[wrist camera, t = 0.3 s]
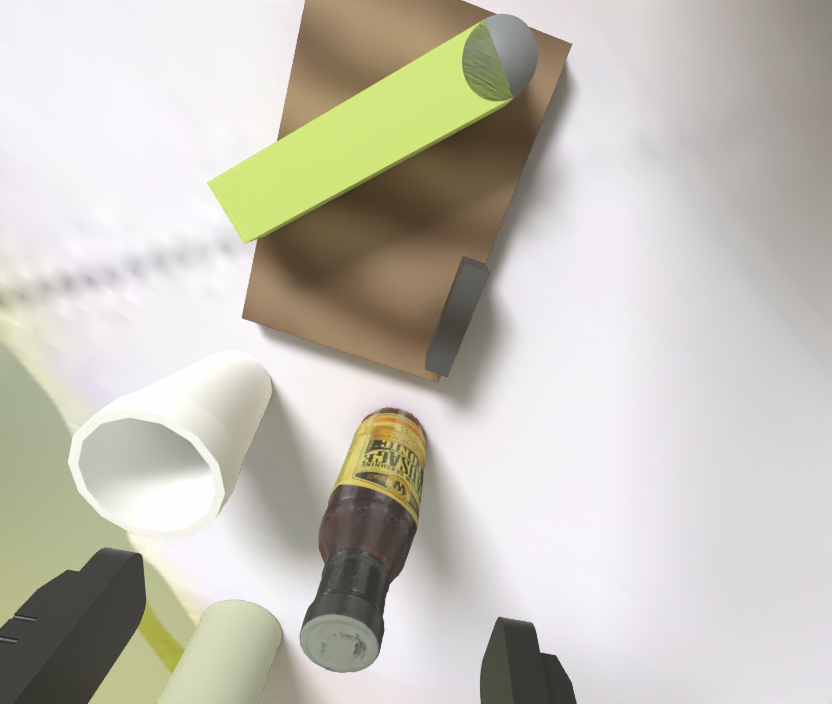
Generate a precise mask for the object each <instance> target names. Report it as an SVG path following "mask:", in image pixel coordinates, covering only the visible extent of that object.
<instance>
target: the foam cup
mask: <svg viewBox="0 0 832 704" xmlns="http://www.w3.org/2000/svg"><path fill="white" fill-rule="evenodd" d="M272 392H273V390H272V383H271V377H270V375H269V374H268V372H267V371H266V369H265V368H264V366H263V365H262V363H261V362H259V361H258V360H256V359H255V358H253V357H252V356H250V355H249V354H247V353H243V352H238V351H233V350H228V351H223V352H219V353H215V354H214V355H210V356H208V357H206V358H204V359H202V360H200V361H198V362H196V363H194V364H192V365H190V366H188V367H186V368H184V369H182V370H180V371H178V372H176V373H174V374H172V375H170V376H168V377H166V378H164V379H162V380H160V381H158V382H156V383H154V384H152V385H150V386H148V387H146V388H144V389H142V390H140V391H138V392H136V393H134V394H129V395H125V396H121V397H119V398H118V399H116V400H115V401H113V402H112V403H111V404H109V405H108V406H106V407H105V408H104V409H102V410H101V411H99V412H98V413H96V414H95V415H94V416H93V417H92V418H91V419H89V420H88V421H87V422H86V423H85V424H84V425H83V426H82V427H81V428H80V429H79V430H78V431H77V432H76V433H75V434H74V435H73V438H72V444H71V449H70V454H69V460H68V464H69V467H70V469H71V472H72V475H73V478H74V480H75V483H76V486H77V489H78V491H79V492H80V493H81V495H82V496H83V497H84V498H85V499H86V500H87V501H88V502H89V503H90V504H91V505H92V507H93V508H94V509H95V510H96V511H97V512H98V513H99V514H100V515H101V516H102V517H104V518H106V519H108V520H109V521H111V522H113V523H115V524H116V525H118V526H120V527H122V528H124V529H125V530H127V531H129V532H131V533H134V534H139V535H145V536H150V537H155V538H160V539H170V538H176V537H181V536H187V535H193V534H196V533H197V532H198V531H200V530H201V529H202V528H204V527H205V526H206V525H208V524H209V523H210V522H212V521H213V520H214V519H216V518H217V516H218V514H219V513H220V511H221V510H222V508H223V507H224V505H225V504H226V502H227V501H228V499H229V497H230V496H231V494H232V492H233V490H234V487H235V484H236V481H237V479H238V476H239V473H240V471H241V468H240V467H241V465H242V462H243V460H244V458H245V456H246V453H247V451H248V449H249V447H250V444H251V442H252V440H253V438H254V435H255V433H256V431H257V429H258V426H259V424H260V422H261V419H262V417H263V415H264V413H265V410H266V408H267V405H268V403H269V400H270V398H271V395H272Z"/></svg>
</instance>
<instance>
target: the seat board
mask: <svg viewBox="0 0 832 704" xmlns="http://www.w3.org/2000/svg"><path fill="white" fill-rule="evenodd" d="M493 15H498V14H495V13H493V12H490V11H488V10H485V9H482V8H480V7H477V6H475V5H472V4H470V3H467V2H465V1H462V0H305V4H304V9H303V14H302V19H301V24H300V29H299V34H298V39H297V44H296V49H295V54H294V59H293V64H292V69H291V74H290V79H289V84H288V89H287V94H286V99H285V104H284V109H283V114H282V119H281V124H280V129H279V134H278V139H277V141H279V140H280V139H282V138H284V137H286V136H287V135H289V134H291V133H292V132H294V131H296V130H297V129H299V128H301V127H303V126H304V125H306V124H308V123H309V122H311V121H313V120H314V119H316V118H318V117H319V116H321V115H323V114H325V113H326V112H328V111H330V110H331V109H333V108H335V107H336V106H338V105H340V104H342V103H343V102H345V101H347V100H348V99H350V98H352V97H353V96H355V95H357V94H359V93H360V92H362V91H364V90H365V89H367V88H369V87H370V86H372V85H374V84H375V83H377V82H379V81H381V80H382V79H384V78H386V77H387V76H389V75H391V74H392V73H394V72H396V71H398V70H399V69H401V68H403V67H404V66H406V65H408V64H409V63H411V62H413V61H415V60H416V59H418V58H420V57H421V56H423V55H425V54H426V53H428V52H430V51H431V50H433V49H435V48H437V47H438V46H440V45H442V44H443V43H445V42H447V41H448V40H450V39H452V38H454V37H455V36H457V35H459V34H460V33H462V32H464V31H465V30H467V29H469V28H471V27H472V26H474V25H476V24H477V23H479V22H481V21H482V20H484V19H486V18H488V17H490V16H493ZM529 28H530V27H529ZM530 29H531V31H532V33H533V35H534V37H535V40H536V43H537V49H538V60H537V66H536V69H535V73H534V75H533V77H532V79H531V81H530V82H529V84H528V85H527V87H526V88H525V89H524V90H523V91H522V92H521V93H520V94H519V95H518V96H517V97H516V98H515V99H514V100H513V101H512V102H510V103H509V104H508V105H506V106H505V107H503V108H501V109H499V110H497V111H495V112H494V113H492V114H490V115H488V116H486V117H484V118H483V119H481V120H479V121H477V122H475V123H473V124H471V125H470V126H468V127H466V128H464V129H462V130H460V131H459V132H457V133H455V134H453V135H451V136H449V137H447V138H446V139H444V140H442V141H440V142H438V143H436V144H435V145H433V146H431V147H429V148H427V149H425V150H423V151H422V152H420V153H418V154H416V155H414V156H412V157H410V158H409V159H407V160H405V161H403V162H401V163H399V164H398V165H396V166H394V167H392V168H390V169H388V170H386V171H385V172H383V173H381V174H379V175H377V176H375V177H374V178H372V179H370V180H368V181H366V182H364V183H362V184H361V185H359V186H357V187H355V188H353V189H351V190H350V191H348V192H346V193H344V194H342V195H340V196H338V197H337V198H335V199H333V200H331V201H329V202H327V203H326V204H324V205H322V206H320V207H318V208H316V209H314V210H313V211H311V212H309V213H307V214H305V215H303V216H302V217H300V218H298V219H296V220H294V221H292V222H290V223H289V224H287V225H285V226H283V227H281V228H279V229H278V230H276V231H274V232H272V233H270V234H268V235H266V236H264V237H261V238H258V239H257V244H256V249H255V254H254V259H253V264H252V269H251V274H250V279H249V284H248V289H247V294H246V299H245V304H244V309H243V314H242V318H243V319H246V320H249V321H252V322H255V323H258V324H261V325H264V326H267V327H270V328H273V329H276V330H279V331H282V332H285V333H288V334H291V335H294V336H297V337H301V338H304V339H307V340H310V341H313V342H316V343H319V344H322V345H325V346H328V347H331V348H334V349H337V350H340V351H343V352H346V353H349V354H352V355H355V356H358V357H361V358H364V359H367V360H370V361H374V362H377V363H380V364H383V365H386V366H389V367H392V368H395V369H398V370H401V371H404V372H407V373H410V374H413V375H416V376H419V377H422V378H425V379H428V380H431V381H434V382H437V383H438V382H439V379H440V377H441V375H442V376H445V377H447V376H448V374H449V371H450V369H451V366H452V364H453V361H454V359H455V357H456V354H457V352H458V349H459V347H460V344H461V342H462V339H463V337H464V334H465V332H466V329H467V327H468V324H469V322H470V319H471V317H472V314H473V312H474V309H475V307H476V304H477V302H478V299H479V297H480V294H481V292H482V290H483V287H484V285H485V282H486V280H487V277H488V275H489V271H488V268H487V266H486V264H485V263H486V261H487V258H488V256H489V253H490V251H491V248H492V245H493V243H494V240H495V238H496V235H497V233H498V230H499V228H500V225H501V223H502V220H503V218H504V215H505V213H506V210H507V208H508V205H509V203H510V200H511V198H512V195H513V193H514V190H515V187H516V185H517V182H518V180H519V177H520V175H521V172H522V170H523V167H524V165H525V162H526V160H527V157H528V155H529V152H530V150H531V147H532V145H533V142H534V140H535V137H536V135H537V132H538V129H539V127H540V124H541V122H542V119H543V117H544V114H545V112H546V109H547V107H548V104H549V102H550V99H551V97H552V94H553V92H554V89H555V87H556V84H557V82H558V79H559V77H560V74H561V71H562V69H563V66H564V64H565V61H566V59H567V56H568V54H569V51H570V49H571V46H572V44H571V43H568V42H566V41H563V40H561V39H558V38H556V37H553V36H551V35H548V34H546V33H543V32H541V31H538V30H536V29H533V28H530Z"/></svg>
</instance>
